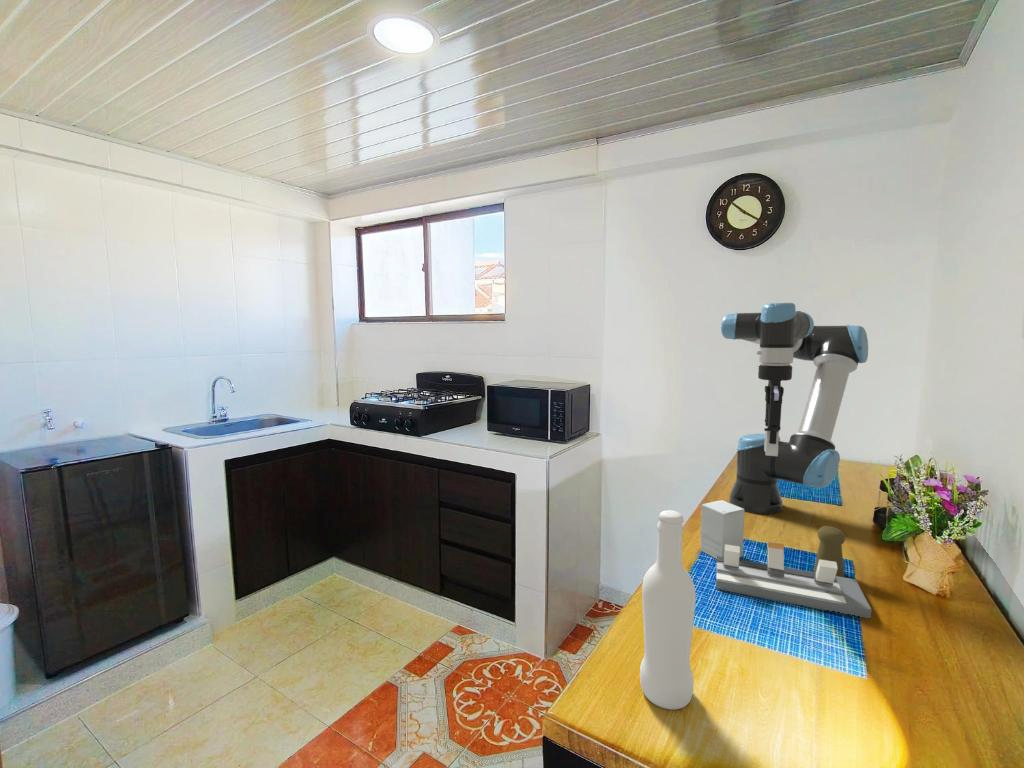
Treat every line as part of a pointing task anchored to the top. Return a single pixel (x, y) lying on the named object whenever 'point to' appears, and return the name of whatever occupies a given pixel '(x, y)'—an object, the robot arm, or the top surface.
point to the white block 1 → (731, 556)
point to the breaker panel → (793, 587)
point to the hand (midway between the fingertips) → (770, 453)
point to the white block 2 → (826, 572)
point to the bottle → (668, 620)
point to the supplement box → (721, 527)
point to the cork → (831, 547)
